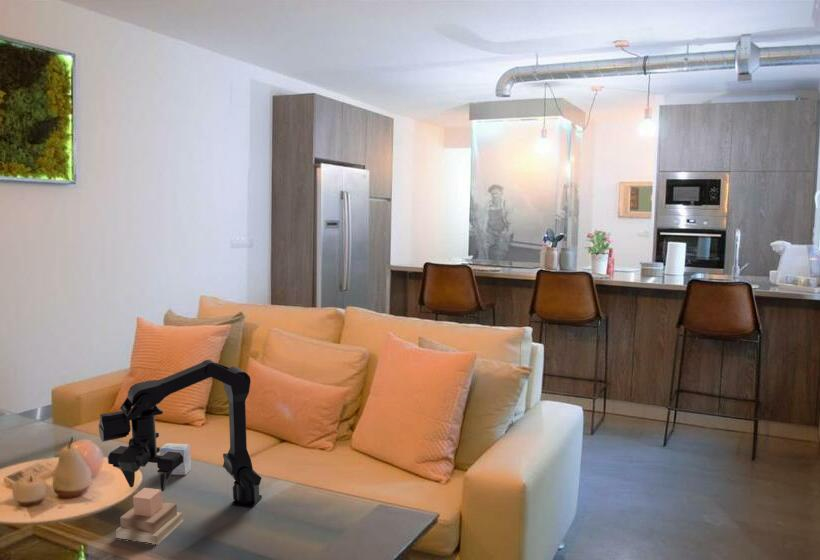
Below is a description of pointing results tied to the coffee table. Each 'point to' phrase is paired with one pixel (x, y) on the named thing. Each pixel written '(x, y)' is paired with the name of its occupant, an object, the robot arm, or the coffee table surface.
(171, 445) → the medicine box
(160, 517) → the walnut slab
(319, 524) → the coffee table surface
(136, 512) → the terracotta block
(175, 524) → the birch slab
